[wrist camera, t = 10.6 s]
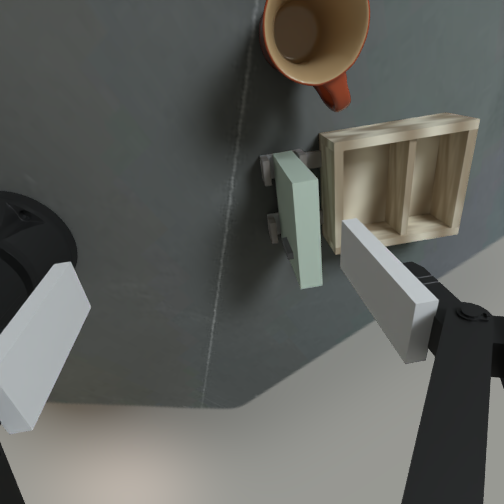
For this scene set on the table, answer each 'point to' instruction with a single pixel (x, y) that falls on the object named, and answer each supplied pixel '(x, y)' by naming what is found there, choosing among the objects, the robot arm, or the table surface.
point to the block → (299, 217)
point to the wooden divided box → (390, 178)
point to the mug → (315, 43)
